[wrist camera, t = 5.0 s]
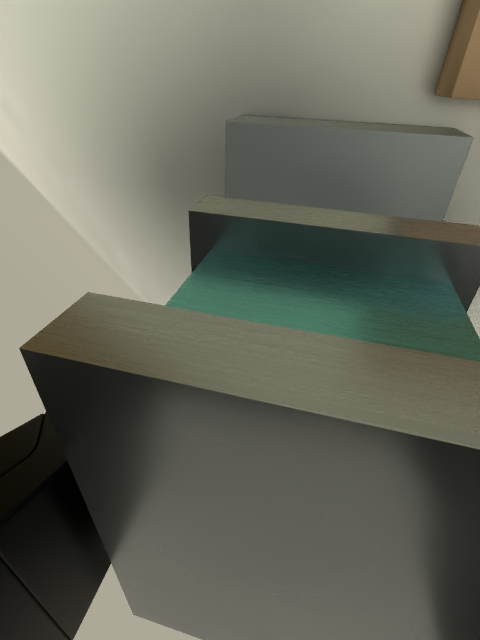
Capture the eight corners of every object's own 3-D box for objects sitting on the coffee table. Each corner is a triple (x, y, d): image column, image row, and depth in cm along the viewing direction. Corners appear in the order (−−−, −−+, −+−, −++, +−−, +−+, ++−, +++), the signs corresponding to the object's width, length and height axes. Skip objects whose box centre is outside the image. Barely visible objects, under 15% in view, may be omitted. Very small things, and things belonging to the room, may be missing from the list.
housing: (479, 226, 6) (724, 502, 2) (375, 460, 10) (392, 708, 6) (207, 195, 7) (19, 347, 3) (211, 421, 11) (133, 614, 7)
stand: (392, 309, 17) (397, 339, 15) (237, 285, 19) (224, 309, 17) (454, 128, 13) (473, 137, 11) (243, 115, 14) (226, 121, 12)
